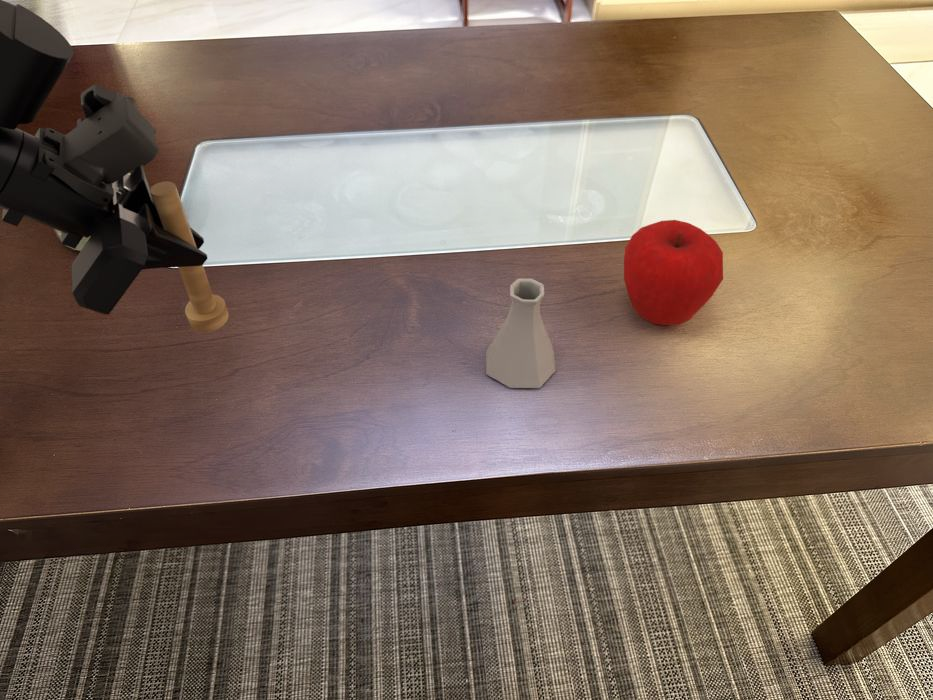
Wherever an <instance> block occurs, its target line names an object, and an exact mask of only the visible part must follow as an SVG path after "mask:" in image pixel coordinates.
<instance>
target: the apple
mask: <svg viewBox="0 0 933 700" xmlns="http://www.w3.org/2000/svg"><path fill="white" fill-rule="evenodd" d="M723 280H724V252H723V250H722V249H721V247H720V245H719V244H718V242H717V241H716V240H715V239H714V238H713V237H712V236H711V235H709V234H708V233H707V232H706V231H704V230H703V229H701V228H700V227H698V226H696V225H694V224H692V223H689V222H686V221H681V220H678V219H667V220H659V221H656V222H654V223H651V224H648V225H645V226H642V227H640V228H639V229H638V230H637V231H636V232H634V233H632V235H631V237H630V238H629V240H628V242H627V244H626V246H625V247H624V255H623V281H624V285H625V288H626V292H627V295H628V298H629V302H630V305H631V308H632V309H633V310H634V312H636V314H637V315H638V316H639V317H641V318H642V319H644V320H646V321H648V322H650V323H651V324H655V325H659V326H674V325H675V326H677V325H681V324H683V323H686V322H688V321H690V320H691V319H692V318H693V317H694V316H695V315H696V314H697V313H698V312H699V311H700V310H701V309H702V308H703V306H705V305H706V303H708V302H709V300H710V299H711V298H713V296H714V294H715V292H717V289H718V288H719V287H720V285H721V283H722V282H723Z"/></svg>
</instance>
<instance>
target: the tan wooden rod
mask: <svg viewBox="0 0 933 700" xmlns="http://www.w3.org/2000/svg"><path fill="white" fill-rule="evenodd" d="M150 193H151V196H152V199H153V201H154V204H155V207H156V209H157V212H158V215H159V217H160V220H161V223H162V226H163V228H164V229H165V230H166V231H168V232H170V233H172V234H173V235H175V236H177V237H179V238H181V239H182V240H184V241H186V242H188V243H189V244H191V245H193V246H195V247H196V244H195V241H194V238H193V235H192V232H191V229H190V227H191V225H190V223H189V220H188V217H187V214H186V211H185V209H184V206H183V202H182V200H181V199H182V198H181V197H180V194H179V191H178V188H177V185H176V184H175V183H174V182H172V181H161V182H158V183H155V184H154V185H152V186H151V187H150ZM196 248H197V247H196ZM177 268H178V271H179V274H180V276H181V280H182V282H183V284H184V287H185V290H186V292H187V296H188V297H189V301H188V302H187V304H186V306H185V309H184V313H185V316H186V318H187V321H188V324H189V326H190V327H191V329H193V330H195V331H197V332H201V333H208V332H209V333H210V332H213V331H216V330H218V329H220V328H222V327H223V326H224V325H225V324H226V323H228V320H229V317H230V315H229V310H228V308H227V305H226V301H225V300H224V298H223V297H222V296H220V295H218V294H214V293H213V291H212V288H211V284H210V282H209V280H208V276H207V273H206V270H205V267H204V264H203V265H201V266H189V267H177Z"/></svg>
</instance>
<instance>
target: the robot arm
mask: <svg viewBox="0 0 933 700" xmlns="http://www.w3.org/2000/svg"><path fill="white" fill-rule="evenodd" d="M73 55H74V49H73V48H72V45H71V44H70V42H69V41H68V40H67V38H66V37H65V36H64V35H63V34H62V33H61V32H60V31H59V30H57V28H55V27H54V26H53V25H52V24H50V23H49V22H48V21H47V20H45V19H44V18H42V17H41V16H40V15H38V14H36V13H35V12H33V11H32V10H30V9H29V8H26V6H23V5H22V4H16V5H14V4H12V3H10V2H8V1H6V0H0V208H1V209H2V217H1V222H3V223H7V224H10V225H12V226H14V227H18V226H19V224H20V223H21V221H22V220H23V218H26V219H28V220H31V221H34V222H36V223H38V224H41V225H43V226H46V227H49V228H51V229H53V228H54V229H56V230H59V231H61V241H60V242H61V243H60V244H61V245H64V246H65V245H66V247H67V246H69V247H71V248H74V249H75V248H76V247H77V245H78V244H79V242H80V241H81V239H82V238H83V237H86V238H88V237H90V238H89V240H88V241H87V243H86V244H85V246H84V247H83V249H82V250H81V251H79V253H78V255H77V256H76V257H75V259H74V260H73V261H72V263H71V293H72V295H73V298H74V299H75V301H76V303H77V305H78V307H80V308H83V309H86V310H90V311H93V312H96V313H99V314H102V315H105V316H109V315H110V314H111V312H112V311H113V310H114V308H115V307H116V306H117V304H118V303H119V301H120V300H121V299H122V297H123V296H124V295H125V293H126V292H127V290H129V288H130V287H131V285H132V284H133V282H134V281H135V279H136V278H137V277H138V276H139V274H140V272H142V271H143V270H151V269H165V268H167V269H168V268H178V267H189V266H201V265H203V266H204V264H205V263H206V262H207V260H208V254H207V253H205V252H204V251H202V250H201V247H202V246H203V245H204V244H205V239H204V238H203V237H202V236H201V235H200V234H199V233H198V232H197V231H196V230H195V229H193V228H192V227H191V226H190V229H191V232H192V235H193V238H194V241H195V244H196V247H197V248H196V247H195V246H193V245H191V244H189V243H188V242H186V241H184V240H182V239H181V238H179V237H177V236H175V235H173V234H172V233H170V232H168V231H166V230H165V229H164V228H163V226H162V223H161V220H160V217H159V215H158V212H157V209H156V207H155V204H154V201H153V199H152V196H151V193H150V189H151V187H150V185H149V182H148V179H147V177H146V173H145V168H144V167H143V166H147V165H148V164H149V163H151V162H152V161H153V160H154V159H155V158H156V157H157V155H158V154H159V150H160V149H159V145H158V143H157V139H156V132H157V130H156V128H155V126H153V124H152V123H151V122H150V121H149V120H148V119H147V118H146V117H145V116H144V115H143V114H142V113H141V112H140V111H139V110H138V107H137V101H136V99H135V98H133V97H131V96H126V95H125V94H123V93H122V92H121V91H118V92H115V91H113V90H110V89H109V88H106V87H103V86H102V85H99V84H97V83H94V84H92V85H91V86H90V87H88V88H86V89H85V90H83V91H82V92H81V93H80V105H81V106H80V107H81V109H82V111H83V114H84V117H85V119H83V117H80V118H78V119H77V120H76V127H75V128H73V129H72V130H70V131H69V132H68V133H67V134H64V133H61V132H59V131H57V130H55V129H53V128H50V127H46V128H43V127H39V128H38V130H37V131H36V133H35V135H33V134H30V133H28V132H26V131H24V130H21V129H19V128H18V125H29V124H31V123H33V122H34V121H35V119H36V117H37V116H38V114H39V112H40V111H41V109H42V107H43V106H44V104H45V102H46V101H47V99H48V97H49V96H50V94H51V92H52V90H54V87H55V86H56V84H57V83H58V80H59V79H60V78H61V76H62V74H63V72H64V70H65V69H66V68H67V66H68V64H69V62H70V61H71V59H72V58H73ZM128 173H131V174H130V175H128ZM54 229H53V230H54ZM69 247H68V248H69ZM71 248H70V249H71ZM74 249H73V250H74Z"/></svg>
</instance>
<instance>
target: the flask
mask: <svg viewBox="0 0 933 700" xmlns="http://www.w3.org/2000/svg"><path fill="white" fill-rule="evenodd" d="M509 295H510V297H509V298H510V300H511V304H510V307H509V311H508V314H507V316H506V318H505V320H504V321H503V323H502V325H501V327H500V328H499V330H498V332H497V334H496V336H495V337H494V339H493V340H492V342H491V343H490V345H489V346H488V348H487V349H486V352H485V374H486V375H487V376H488V377H491V378H492V379H494V380H496V381H498V382H499V383H501V384H503V385H504V386H506V387H508V388H510V389H540V388H542V386H543V385H544V384H545V383H546V382H547V381H548V380H549V379H550V378H551V376H553V374H554V373H555V372H556V359H555V350H554V347H553V344H552V342H551V339H550V337H549V334H548V332H547V330H546V326H545V324H544V321H543V317H542V314H541V309H540V308H541V301H542V299H544V297H545V286H544V283H541V282H540V281H537V280H535V279H534V278H517V279H516V280H515V281H514V282H513V283H512V284H510V286H509Z"/></svg>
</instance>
